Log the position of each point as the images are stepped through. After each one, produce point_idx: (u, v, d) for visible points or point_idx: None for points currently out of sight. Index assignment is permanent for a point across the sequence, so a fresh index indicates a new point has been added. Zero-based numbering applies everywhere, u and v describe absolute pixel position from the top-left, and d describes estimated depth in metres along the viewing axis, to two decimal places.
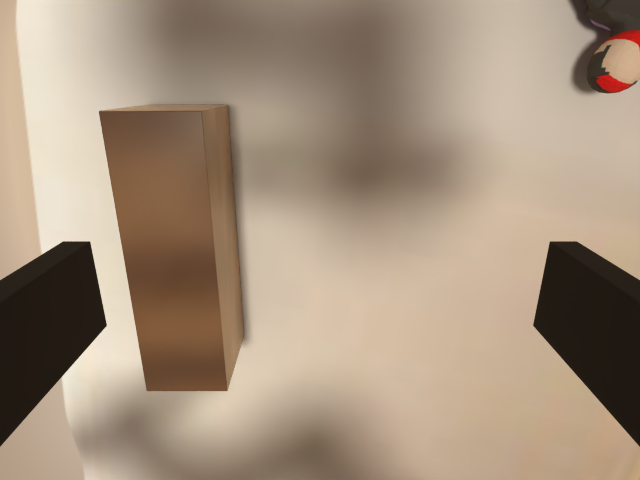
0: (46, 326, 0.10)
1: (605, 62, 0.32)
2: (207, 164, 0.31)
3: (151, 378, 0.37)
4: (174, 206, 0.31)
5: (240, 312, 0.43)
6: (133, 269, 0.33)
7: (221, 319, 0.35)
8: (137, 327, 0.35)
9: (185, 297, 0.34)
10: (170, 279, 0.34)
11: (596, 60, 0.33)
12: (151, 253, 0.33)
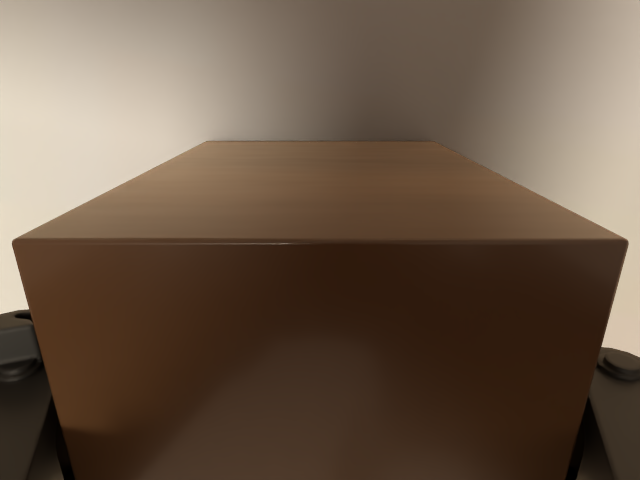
0: None
1: None
2: None
3: None
4: None
5: None
6: None
7: None
8: None
9: None
10: None
11: None
12: None
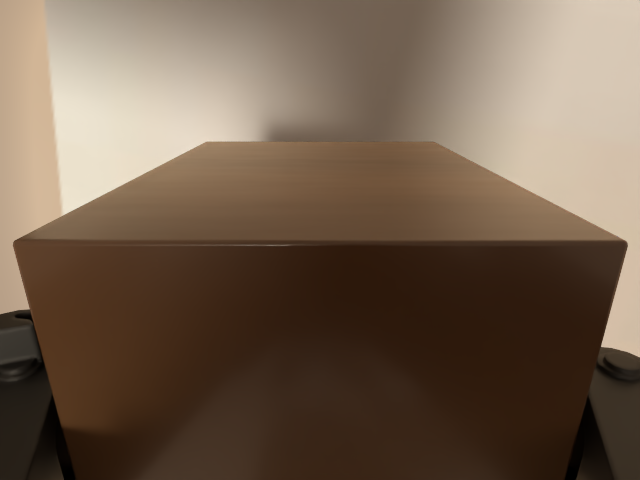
0: None
1: None
2: None
3: None
4: None
5: None
6: None
7: None
8: None
9: None
10: None
11: None
12: None
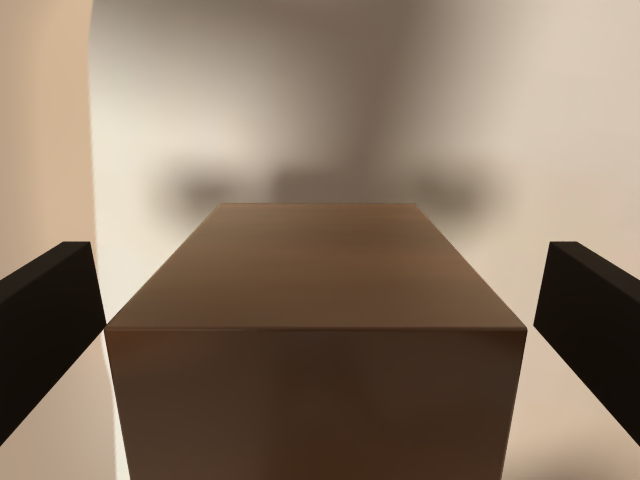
0: (46, 326, 0.10)
1: None
2: None
3: None
4: None
5: None
6: None
7: None
8: None
9: None
10: None
11: None
12: None
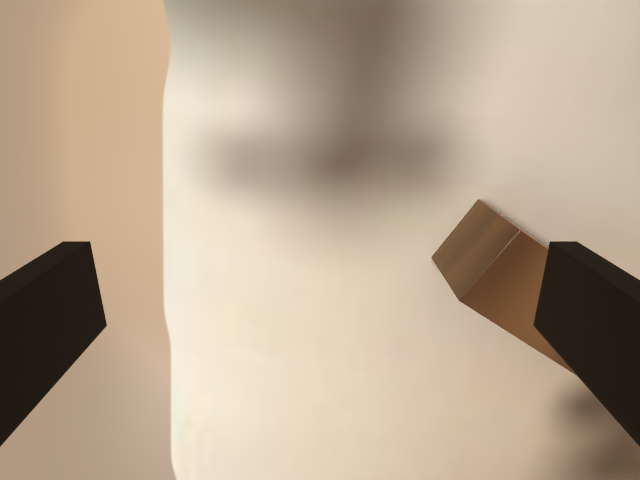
0: (46, 326, 0.10)
1: None
2: None
3: None
4: None
5: None
6: None
7: None
8: None
9: None
10: None
11: None
12: None
